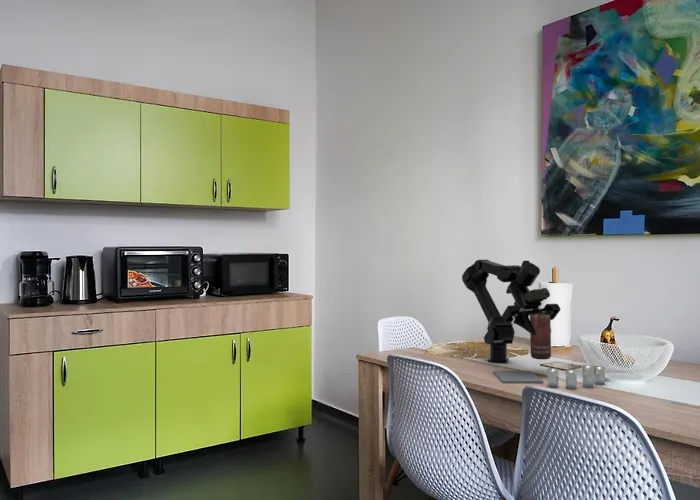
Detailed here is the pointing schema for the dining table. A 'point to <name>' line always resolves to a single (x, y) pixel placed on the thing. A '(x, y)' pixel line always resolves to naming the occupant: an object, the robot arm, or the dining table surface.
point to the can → (540, 336)
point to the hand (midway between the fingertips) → (542, 334)
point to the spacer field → (589, 377)
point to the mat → (517, 377)
